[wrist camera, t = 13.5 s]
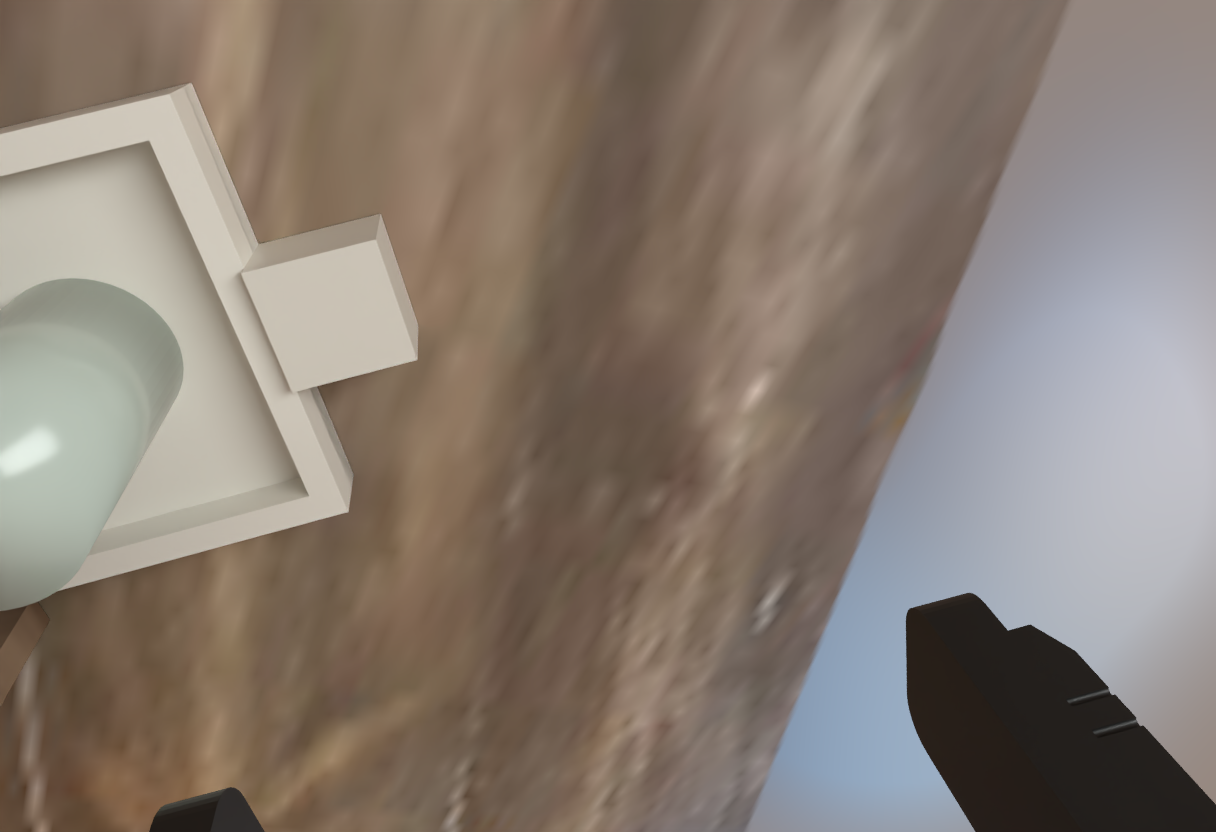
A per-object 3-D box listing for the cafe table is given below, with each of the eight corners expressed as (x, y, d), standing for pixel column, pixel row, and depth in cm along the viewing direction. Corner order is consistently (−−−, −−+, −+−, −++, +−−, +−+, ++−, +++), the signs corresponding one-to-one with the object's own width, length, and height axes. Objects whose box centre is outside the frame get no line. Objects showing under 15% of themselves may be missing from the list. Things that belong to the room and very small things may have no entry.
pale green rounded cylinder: (136, 258, 27) (15, 385, 19) (211, 410, 29) (132, 576, 21) (-43, 304, 26) (-243, 451, 18) (49, 453, 29) (-91, 638, 21)
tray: (325, 50, 26) (314, 60, 23) (458, 446, 33) (461, 488, 30) (-228, 182, 25) (-306, 208, 22) (27, 562, 32) (-9, 617, 29)
